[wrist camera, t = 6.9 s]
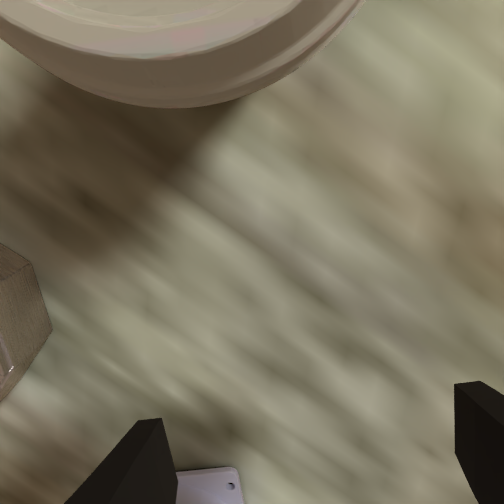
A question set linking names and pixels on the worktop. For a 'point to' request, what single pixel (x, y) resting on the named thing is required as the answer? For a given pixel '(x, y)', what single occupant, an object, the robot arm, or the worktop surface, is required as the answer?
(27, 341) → the grey octagonal hollow piece
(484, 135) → the worktop surface
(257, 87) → the coffee cup
